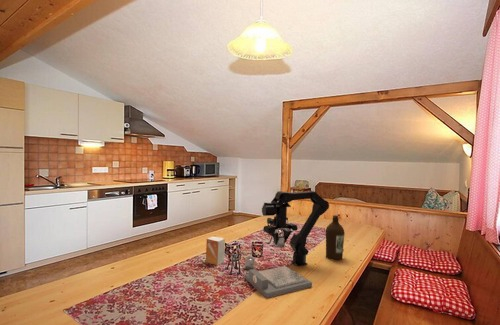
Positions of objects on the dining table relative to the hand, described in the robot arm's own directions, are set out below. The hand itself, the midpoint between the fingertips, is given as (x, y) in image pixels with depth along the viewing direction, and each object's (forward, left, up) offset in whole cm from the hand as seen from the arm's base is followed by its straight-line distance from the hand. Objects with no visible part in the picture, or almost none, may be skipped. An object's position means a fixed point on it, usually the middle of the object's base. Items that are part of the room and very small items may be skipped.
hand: (280, 244), depth 145 cm
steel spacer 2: (0, 0, -1) cm, 1 cm away
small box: (+30, -18, -12) cm, 37 cm away
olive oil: (-37, +3, -12) cm, 39 cm away
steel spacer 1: (+16, -4, -12) cm, 20 cm away
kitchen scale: (+12, +16, -12) cm, 23 cm away
